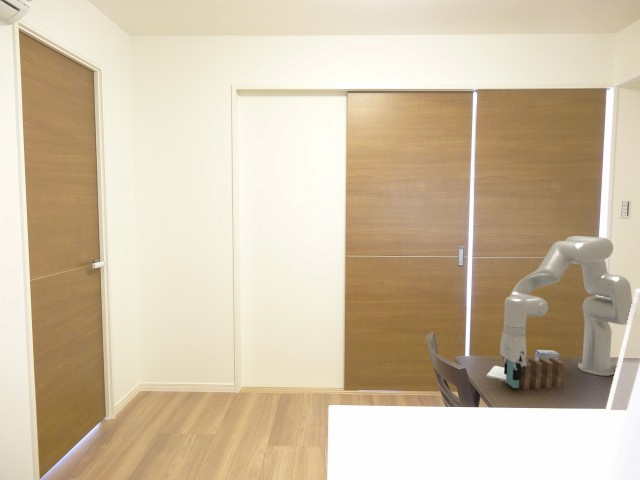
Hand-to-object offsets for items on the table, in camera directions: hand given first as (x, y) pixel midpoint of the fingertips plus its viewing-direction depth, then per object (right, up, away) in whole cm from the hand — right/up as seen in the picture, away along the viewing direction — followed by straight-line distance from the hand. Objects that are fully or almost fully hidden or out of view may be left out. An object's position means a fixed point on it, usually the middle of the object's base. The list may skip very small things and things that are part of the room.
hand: (512, 376), depth 154 cm
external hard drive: (+1, -4, +13) cm, 13 cm away
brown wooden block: (+9, -4, +1) cm, 10 cm away
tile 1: (+18, -4, +3) cm, 19 cm away
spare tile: (0, -3, 0) cm, 3 cm away
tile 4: (+4, -4, +1) cm, 6 cm away
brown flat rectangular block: (+13, -4, +2) cm, 14 cm away
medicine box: (+22, -4, +16) cm, 28 cm away
